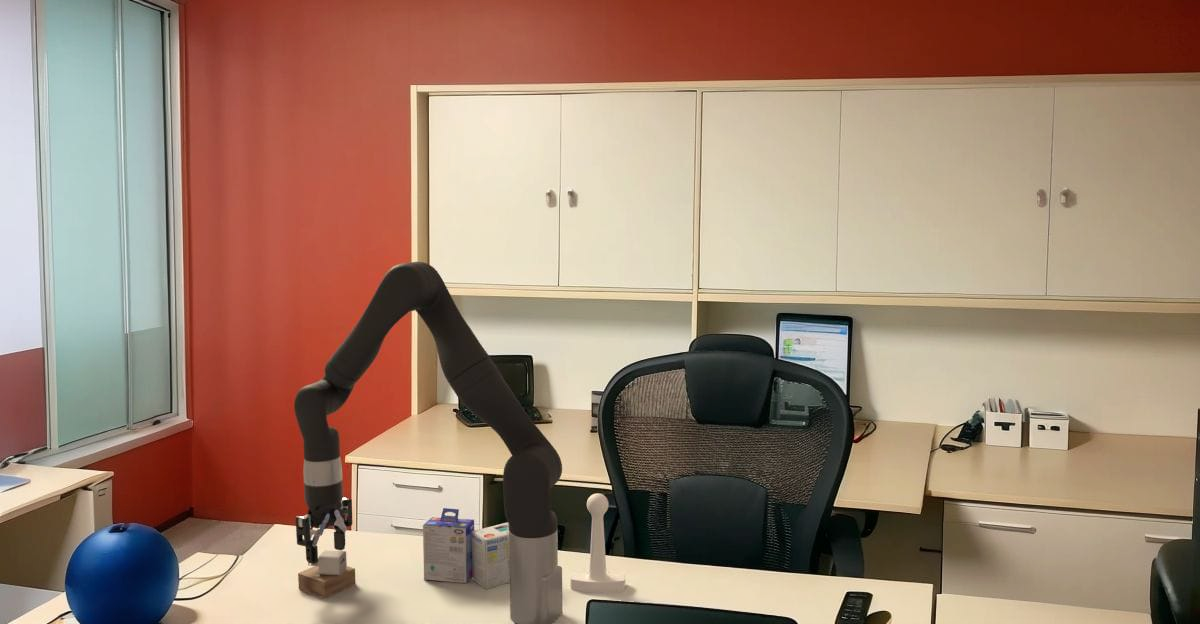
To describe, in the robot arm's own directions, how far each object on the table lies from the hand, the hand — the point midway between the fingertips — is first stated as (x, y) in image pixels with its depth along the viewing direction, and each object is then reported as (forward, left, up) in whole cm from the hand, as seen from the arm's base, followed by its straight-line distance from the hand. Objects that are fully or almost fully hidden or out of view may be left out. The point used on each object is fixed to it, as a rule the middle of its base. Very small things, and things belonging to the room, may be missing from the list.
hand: (326, 555), depth 188 cm
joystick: (-50, -25, -7) cm, 56 cm away
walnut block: (0, 0, -7) cm, 7 cm away
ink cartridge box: (-20, -15, -7) cm, 26 cm away
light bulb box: (-30, -19, -7) cm, 36 cm away
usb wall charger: (0, 0, -4) cm, 4 cm away
